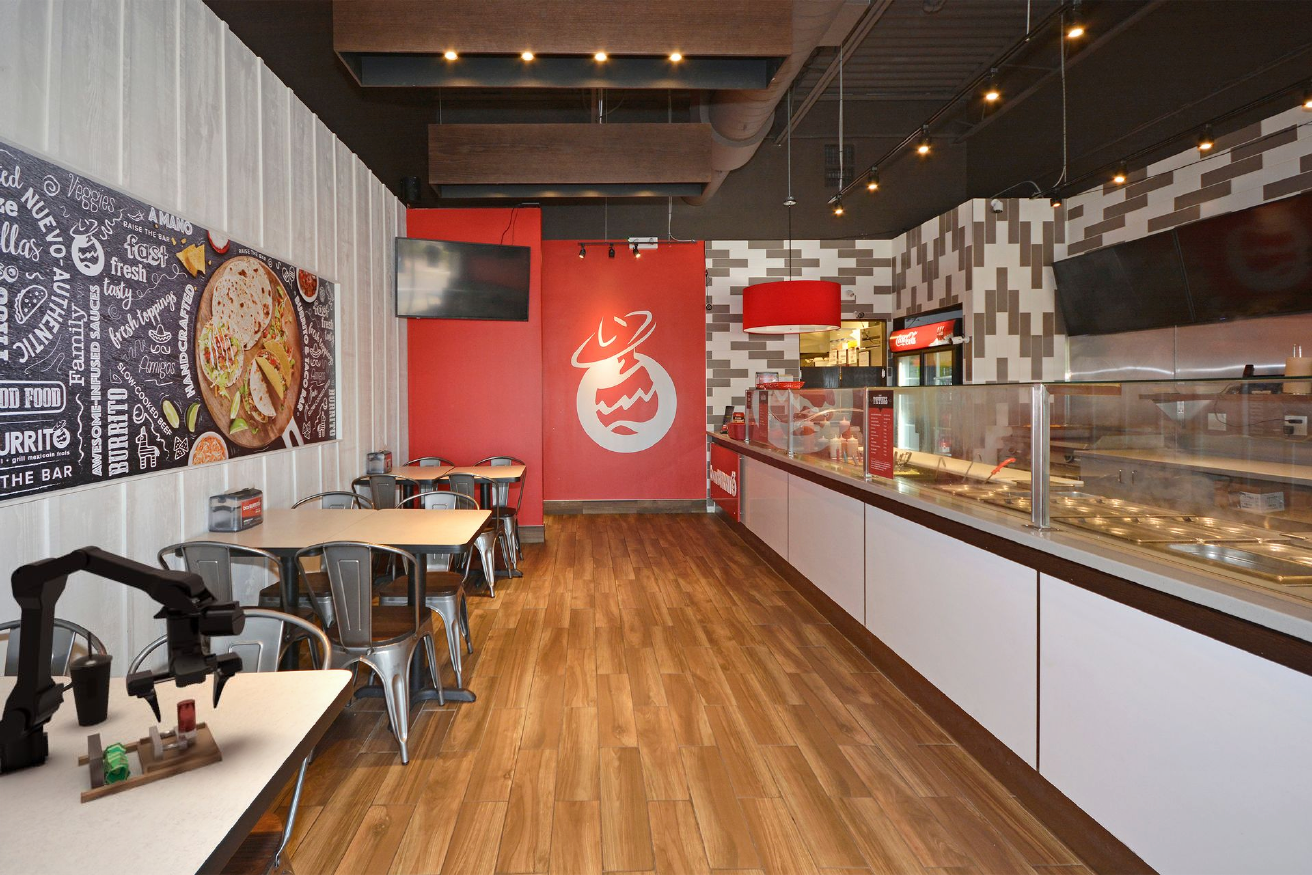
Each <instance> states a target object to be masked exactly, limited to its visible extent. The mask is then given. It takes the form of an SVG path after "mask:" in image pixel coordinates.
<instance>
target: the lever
mask: <svg viewBox="0 0 1312 875" xmlns="http://www.w3.org/2000/svg"><path fill="white" fill-rule="evenodd" d="M196 712H197V711H196V700H195V699H193V698H188V699H184V700H180V701H178V702H177V704H176V713H177V715H176V716H177V725H175V726H173V727H172V729H169V730H166V731H163V732H160V731H159V729H158V726H157V725H153V726H149V727H148V732H149V735H148V737H149V739H150V747H151V750H152V754H153V757H154V761H155V764H156V763H159V762H163V752H164V751H168V750H171V749H175V748H178V747H179V750H182V749H185V748H187V747H189V746H192V745H194V744H196V742H197V736H196V724H197V717H196V716H197V715H196V714H197V713H196ZM170 735H174V736H175V739H176V742H177V743H173V744H169V745H166V746H163V745H162V741H161V738H163V737H167V736H170Z"/></svg>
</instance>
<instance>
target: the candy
mask: <svg viewBox="0 0 1312 875" xmlns="http://www.w3.org/2000/svg"><path fill="white" fill-rule="evenodd" d="M123 745H124V744H122V743H121V742H116V743H114V744H111V745H109V746H106V748H105V749H104V750H105V751H104V753H103V767H104V774H106V776H105V777H104V784H106V785H109V784H113V783H116V782H120V781H123V780H126V779H129V777H130V775H131V773H132V772H131V771H130V770H129V769H128V768H129V765H130V764H129V760H128V759H129V758H128V756H127V755H125V754H126V753H125V751H126V748H125V747H124V746H123ZM124 753H125V754H124Z"/></svg>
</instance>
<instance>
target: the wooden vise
mask: <svg viewBox="0 0 1312 875" xmlns="http://www.w3.org/2000/svg"><path fill="white" fill-rule="evenodd" d="M196 736H197V742H196V744H194V745H192V746H189V747H187V748H185V749H182V750H179V747H178V748H175V749H171V750H168V751H164V752H163V762H159V763H156V764H155V761H154V757H153V754H152V750H151V747H150V739H149V736H146V737H141V738H139V740H137V741H133V742H129V743H126V744H122V745H123V746H124V747H125V748H126V751H125V753H124V755H125V754H128V753H131V752H132V753H133V752H135V751H137V752H136V753H137V756H138V759H139V763H140V768H141V772H142V774H141V775H137V776H133V777H130V778H128V779H126V780H123V781H120V782H116V783H113V784H109V785H107V784H106V785H105V772H104V767H103V762H104V759H103V753H104V751H105V749H104V750H103V748H102V747H103V746H102V742H101V741H102V740H101V734H100V732H98V733H95V734H91V735H87V754H84V755H81V756H78V757H77V763H78V764H77V765H78V767H80V766H84V765H88V771H89V772H88V773H89V782H90V789H89V790H85V791H83V792H80V804H83V803H87V802H90V801H93V800H96V799H100V798H103V797H107V796H109V795H112V794H116V793H119V792H123V791H127V790H130V789H133V788H136V787H139V786H143V785H146V784H150V783H153V782H156V781H160V780H164V779H165V778H167V779H168V778H169V777H173V776H176V775H179V774H183V773H185V772H189V771H192V770H197V769H200V768H202V767H205V766H209V765H213V764H216V763H219V762H223V754H222V752H221V750H220V748H219V746H218V744H217V742H216V740H215V738H214V736H213V734H212V732H211V730H210V728H209V726H208V723H206V721H202V722H199V723H196ZM161 741H162V745H163V746H166V745H169V744H173V743H177V742H176V739H175V736H174V735H170V736H167V737H163V738H161Z"/></svg>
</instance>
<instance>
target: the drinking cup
mask: <svg viewBox="0 0 1312 875" xmlns="http://www.w3.org/2000/svg"><path fill="white" fill-rule="evenodd" d="M86 633H87V634H86V635H87V640H86V641H87V654H85V655H82V656H79V657H78V658H76V659H74V660H72V661H70V662H68V663H67V669H69V674H70V675H69V676H70V678H71V680H70V681H71V686H72V692H73V697H74V704H75V711H76V716H77V723H78V726H80V727H92V726H95V725H99V724H102V723H103V722H106V720H107V719H108V713H109V711H108V710H109V700H110V698H109V697H110V696H109V695H110V684H111V682H110V681H111V669H112V661H113V660H114V656H113V655H111V654H105V653H100V652H99V653H93V643H92V631H87V632H86Z"/></svg>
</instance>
